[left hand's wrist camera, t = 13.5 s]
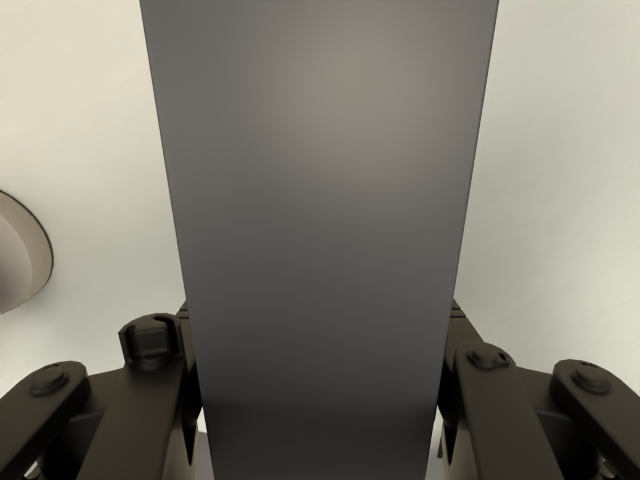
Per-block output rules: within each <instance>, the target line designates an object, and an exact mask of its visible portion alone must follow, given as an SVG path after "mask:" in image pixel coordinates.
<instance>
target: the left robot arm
mask: <svg viewBox="0 0 640 480" xmlns="http://www.w3.org/2000/svg"><path fill="white" fill-rule="evenodd" d="M118 335H119V339H120V343H121V347H122V351H123V355H124V359H125V365H124V367H123V368H121V369H117V370H113V371H109V372H104V373H99V374H94V375H90V376H88V374H87V370H86V367H85V366H84V365H83V364H82V363H80V362H75V361H64V362H57V363H53V364H50V365H47V366H44V367H42V368H40V369H38V370H36V371H34V372H32V373H31V374H29V375H28V376H26V377H25V378H24V379H22V380H21V381H20V382H19V383H17V384H16V385H15V386H14V387H13V388H12V389H11V390H10V391H9V392H7V393H6V394H5V395H4V396H3V397H2V398H1V399H0V480H194V478H195V469H196V459H197V450H198V440H199V432H198V426H197V419H198V417H199V414H200V411H201V409H202V406H203V403H202V397H201V391H200V384H199V378H198V371H197V365H196V359H195V352H194V346H193V340H192V333H191V327H190V320H189V314H188V308H187V301H185V302H184V304H183V305H182V306H181V308H180V309H179V311H178V312H177V314H176V315H172V314H168V313H155V314H150V315H145V316H142V317H140V318H137V319H135V320H132V321H131V322H129V323H128V324H126V325H125V326H123V328H122V329H121V330H120V331H119V332H118ZM437 405H438V408H439V410H440V413H441V415H442V418H443V426H442V432H441V438H440V444H439V450H438V457H437V458H442V456H443V459H444V468H445V477H446V480H640V397H639V396H638V395H637V394H636V393H635V392H634V391H633V390H631V389H630V388H629V387H628V386H627V385H626V384H625V383H624V382H623V381H621V380H620V379H619V378H617V377H616V376H615V375H613V374H612V373H611V372H609V371H607V370H605V369H603V368H601V367H599V366H597V365H595V364H592V363H588V362H585V361H581V360H572V359H567V360H561V361H559V362H558V363H557V364H555V366H554V369H553V373H552V374H548V373H543V372H538V371H534V370H529V369H525V368H521V367H518V366H516V364H515V362H514V361H513V359H512V358H511V356H510V355H509V354H507V353H506V352H505V351H503V350H502V349H501V348H498V347H496V346H494V345H492V344H489V343H485V342H484V341H483V340H482V338H481V337H480V335H479V334H478V333H477V331H476V330H475V328H474V327H473V325H472V324H471V323H470V321H469V320H468V318H466V315H465V314H464V312H463V311H462V310H461V308H460V307H459V305H458V304H457V302H456V301H455V300H454V299H453V301H452V308H451V314H450V321H449V327H448V334H447V340H446V347H445V353H444V359H443V366H442V372H441V379H440V385H439V392H438V398H437ZM437 405H436V409H437ZM203 411H204V410H203ZM435 416H436V411H435ZM204 417H205V416H204ZM434 421H435V418H434ZM35 461H37V464H38V465H37V466H36V467H35V468H34V470H33V471H32V472H31V473H30V474H29V475H28V476H27V477H25V476H24V475H25V473H26V472H27V471H28V470H29V468H30V467H31V466H32V465H33V464H34V462H35Z"/></svg>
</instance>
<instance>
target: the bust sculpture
mask: <svg viewBox="0 0 640 480" xmlns="http://www.w3.org/2000/svg"><path fill="white" fill-rule="evenodd" d="M51 266H52V258H51V251H50V247H49V244H48V241H47V239H46V237H45V234H44V233H43V231H42V229H41V228H40V226H39V225H38V223H37V222H36V221H35V219H34V218H33V217H32V216H31V215H30V214H29V213H28V212H27V211H26V210H25V209H24V208H23V207H22V206H21V205H20V204H18V203H17V202H16V201H14V200H13V199H11V198H10V197H8V196H7V195H5V194H3V193H1V192H0V314H2V313H5V312H8V311H10V310H12V309H14V308H15V307H17V306H18V305H20V304H21V303H23V302H24V301H26V300H27V299H29V298H30V297H32V296H33V295H35V294H36V293H38V292H39V291H40V290H41V289H42V288H43V287H44V285H45V284H46V282H47V280H48V278H49V275H50V272H51Z"/></svg>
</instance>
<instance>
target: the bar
mask: <svg viewBox="0 0 640 480" xmlns="http://www.w3.org/2000/svg"><path fill="white" fill-rule="evenodd" d="M139 1H140V7H141V14H142V20H143V27H144V33H145V39H146V46H147V52H148V58H149V65H150V71H151V78H152V84H153V90H154V97H155V103H156V110H157V116H158V122H159V129H160V135H161V142H162V148H163V154H164V161H165V167H166V173H167V180H168V186H169V193H170V199H171V205H172V212H173V218H174V225H175V231H176V237H177V244H178V250H179V257H180V263H181V269H182V276H183V282H184V288H185V295H186V301H187V308H188V314H189V320H190V327H191V333H192V340H193V346H194V352H195V359H196V365H197V371H198V378H199V384H200V391H201V397H202V403H203V410H204V416H205V423H206V429H207V435H208V442H209V448H210V454H211V461H212V467H213V474H214V480H425V476H426V469H427V463H428V456H429V450H430V443H431V437H432V430H433V424H434V418H435V411H436V405H437V398H438V392H439V385H440V379H441V372H442V366H443V359H444V353H445V347H446V340H447V334H448V327H449V321H450V314H451V308H452V301H453V295H454V289H455V282H456V276H457V269H458V263H459V256H460V250H461V243H462V237H463V230H464V224H465V218H466V211H467V205H468V198H469V192H470V185H471V179H472V172H473V166H474V160H475V153H476V147H477V140H478V134H479V127H480V121H481V114H482V108H483V101H484V95H485V89H486V82H487V76H488V69H489V63H490V56H491V50H492V43H493V37H494V31H495V24H496V18H497V11H498V5H499V0H139Z"/></svg>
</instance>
